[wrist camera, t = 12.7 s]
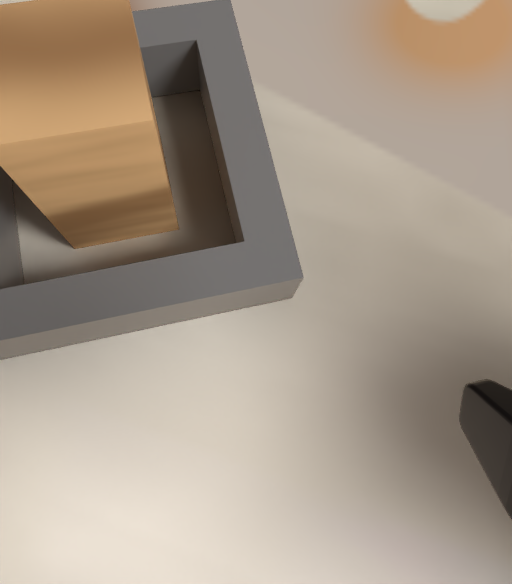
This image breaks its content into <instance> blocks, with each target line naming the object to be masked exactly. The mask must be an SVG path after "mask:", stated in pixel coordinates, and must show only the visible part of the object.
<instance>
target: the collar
mask: <svg viewBox="0 0 512 584" xmlns="http://www.w3.org/2000/svg"><path fill="white" fill-rule="evenodd" d="M132 15H133V19H134V24H135V28H136V32H137V37H138V41H139V46H140V50H141V54H142V59H143V63H144V68H145V72H146V76H147V81H148V85H149V90H150V94H151V97H156V96H162V95H169V94H175V93H182V92H188V91H194V90H200V92H201V96H202V100H203V104H204V109H205V113H206V117H207V122H208V126H209V130H210V134H211V139H212V143H213V147H214V151H215V156H216V160H217V164H218V169H219V173H220V177H221V181H222V186H223V190H224V194H225V198H226V203H227V207H228V211H229V216H230V220H231V224H232V228H233V233H234V237H235V241H236V243H234V244H229V245H224V246H219V247H214V248H209V249H204V250H198V251H193V252H188V253H183V254H178V255H173V256H168V257H163V258H157V259H152V260H147V261H142V262H137V263H132V264H127V265H122V266H117V267H111V268H106V269H101V270H96V271H91V272H86V273H81V274H76V275H71V276H65V277H60V278H55V279H50V280H45V281H40V282H35V283H30V284H24V279H23V270H22V262H21V254H20V246H19V238H18V230H17V222H16V213H15V205H14V197H13V189H12V181H11V177H10V176H9V175H8V174H7V173H6V171H5V170H4V169H3V168H2V167H1V166H0V360H2V359H7V358H11V357H16V356H21V355H26V354H30V353H35V352H40V351H44V350H49V349H54V348H59V347H63V346H68V345H73V344H77V343H82V342H87V341H92V340H96V339H101V338H106V337H110V336H115V335H120V334H124V333H129V332H134V331H139V330H143V329H148V328H153V327H157V326H162V325H167V324H172V323H176V322H181V321H186V320H190V319H195V318H200V317H205V316H209V315H214V314H219V313H223V312H228V311H233V310H238V309H242V308H247V307H252V306H256V305H261V304H266V303H271V302H275V301H280V300H285V299H289V298H292V297H293V295H294V293H295V292H296V290H297V288H298V286H299V285H300V283H301V281H302V279H303V278H304V277H303V273H302V270H301V266H300V262H299V258H298V255H297V251H296V247H295V243H294V239H293V236H292V232H291V228H290V224H289V220H288V217H287V213H286V209H285V205H284V201H283V198H282V194H281V190H280V186H279V182H278V179H277V175H276V171H275V167H274V164H273V160H272V156H271V152H270V148H269V145H268V141H267V137H266V133H265V129H264V126H263V122H262V118H261V114H260V110H259V107H258V103H257V99H256V95H255V92H254V88H253V84H252V80H251V76H250V73H249V69H248V65H247V61H246V57H245V54H244V50H243V46H242V42H241V39H240V35H239V31H238V27H237V23H236V19H235V16H234V12H233V8H232V4H231V1H230V0H215V1H208V2H201V3H193V4H185V5H178V6H171V7H163V8H155V9H148V10H140V11H133V12H132Z"/></svg>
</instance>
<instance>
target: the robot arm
mask: <svg viewBox="0 0 512 584" xmlns="http://www.w3.org/2000/svg"><path fill="white" fill-rule="evenodd" d="M459 420H460V425H461V428H462V430H463V432H464V434H465V436H466V438H467V439H468V441H469V443H470V445H471V447H472V449H473V451H474V453H475V455H476V456H477V458H478V460H479V462H480V464H481V466H482V468H483V470H484V471H485V473H486V475H487V477H488V479H489V481H490V483H491V485H492V486H493V488H494V490H495V492H496V494H497V496H498V498H499V499H500V501H501V503H502V505H503V506H504V508H505V510H506V511H507V513H508V515H509V516H510V518H511V519H512V390H511V389H509V388H507V387H504V386H502V385H500V384H498V383H496V382H494V381H492V380H488V379H484V380H480V381H476V382H471V383H468V384H466V385H465V387H464V389H463V395H462V401H461V408H460V414H459Z"/></svg>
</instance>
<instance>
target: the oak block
mask: <svg viewBox="0 0 512 584" xmlns="http://www.w3.org/2000/svg"><path fill="white" fill-rule="evenodd" d="M0 166H1V167H2V168H3V169H4V170H5V171H6V173H7V174H8V175H9V176H10V177H11V178H12V179H13V180H14V182H15V183H16V184H17V185H18V186H19V187H20V188H21V189H22V191H23V192H24V193H25V194H26V195H27V196H28V197H29V198H30V199H31V201H32V202H33V203H34V204H35V205H36V206H37V207H38V208H39V210H40V211H41V212H42V213H43V214H44V215H45V216H46V217H47V219H48V220H49V221H50V222H51V223H52V224H53V225H54V226H55V227H56V229H57V230H58V231H59V232H60V233H61V234H62V235H63V236H64V238H65V239H66V240H67V241H68V242H69V243H70V244H71V245H72V246H73V248H74V249H77V248H83V247H88V246H93V245H99V244H104V243H109V242H115V241H120V240H125V239H131V238H136V237H141V236H147V235H152V234H157V233H163V232H168V231H173V230H179V226H178V221H177V216H176V211H175V206H174V202H173V197H172V192H171V187H170V182H169V177H168V172H167V167H166V162H165V157H164V153H163V148H162V143H161V138H160V134H159V129H158V125H157V120H156V116H155V112H154V107H153V103H152V98H151V94H150V90H149V85H148V81H147V76H146V72H145V68H144V63H143V59H142V54H141V50H140V46H139V41H138V37H137V32H136V28H135V24H134V19H133V15H132V10H131V6H130V2H129V0H34V1H26V2H18V3H10V4H3V5H0Z"/></svg>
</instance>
